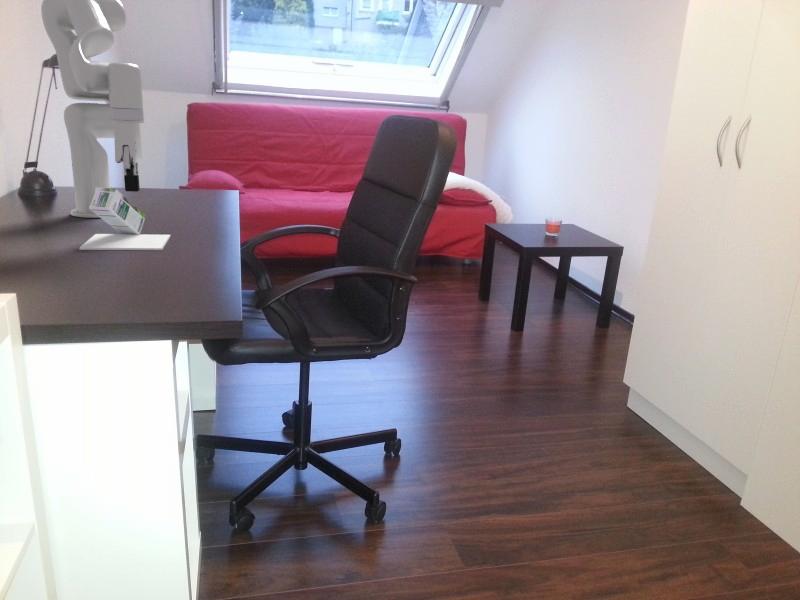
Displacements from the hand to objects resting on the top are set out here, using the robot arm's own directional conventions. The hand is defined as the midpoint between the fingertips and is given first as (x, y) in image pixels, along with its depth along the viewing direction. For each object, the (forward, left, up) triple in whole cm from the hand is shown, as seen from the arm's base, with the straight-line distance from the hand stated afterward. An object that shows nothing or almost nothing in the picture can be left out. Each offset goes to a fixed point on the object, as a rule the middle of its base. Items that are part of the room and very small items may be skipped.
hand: (132, 190), depth 164 cm
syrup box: (-1, -1, -9) cm, 9 cm away
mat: (+10, 0, -11) cm, 15 cm away
